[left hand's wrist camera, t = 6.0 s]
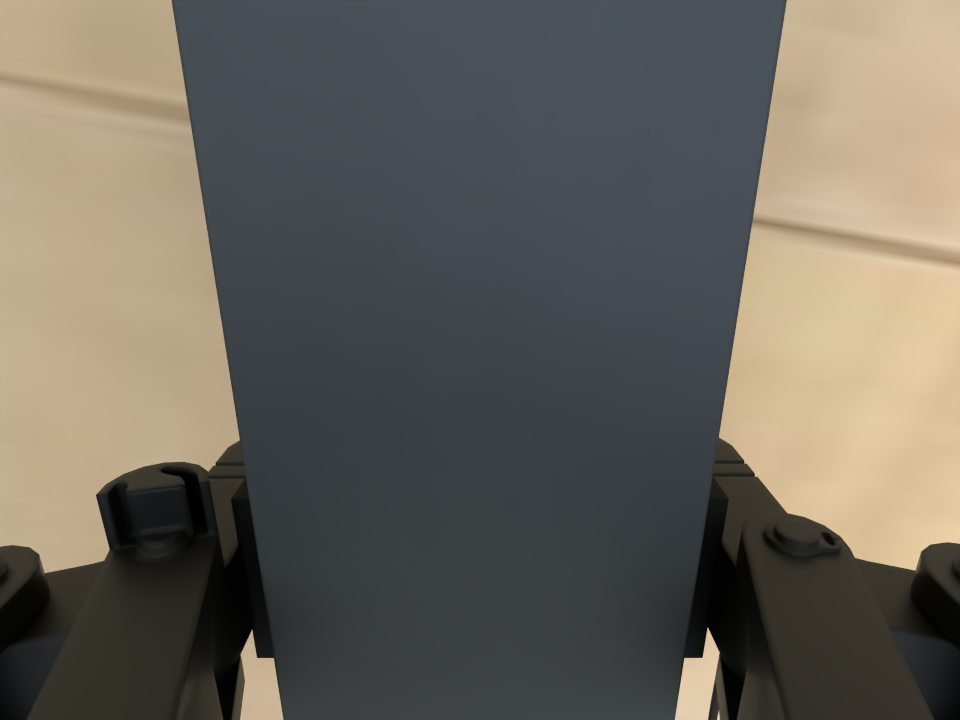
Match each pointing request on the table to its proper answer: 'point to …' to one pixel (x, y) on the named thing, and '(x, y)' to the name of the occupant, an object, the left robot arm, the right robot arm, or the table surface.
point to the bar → (479, 333)
